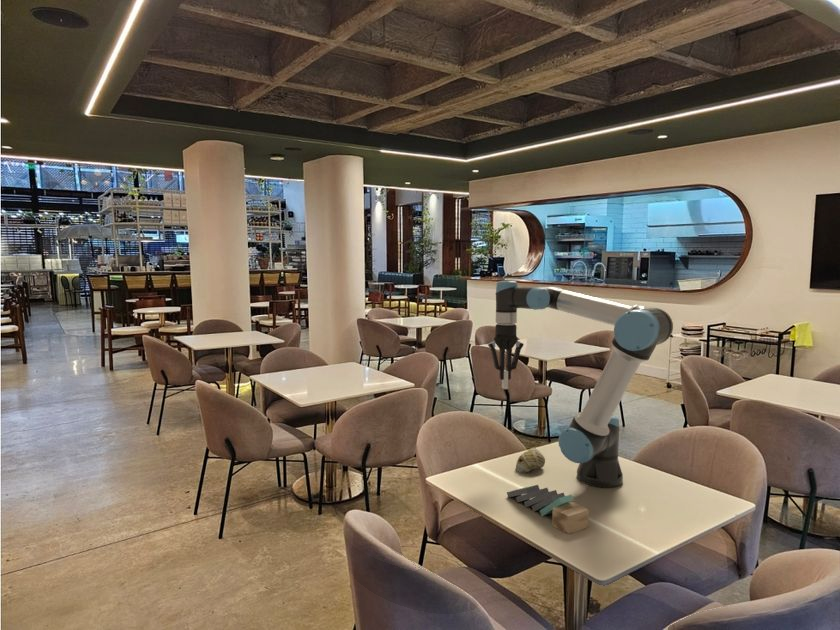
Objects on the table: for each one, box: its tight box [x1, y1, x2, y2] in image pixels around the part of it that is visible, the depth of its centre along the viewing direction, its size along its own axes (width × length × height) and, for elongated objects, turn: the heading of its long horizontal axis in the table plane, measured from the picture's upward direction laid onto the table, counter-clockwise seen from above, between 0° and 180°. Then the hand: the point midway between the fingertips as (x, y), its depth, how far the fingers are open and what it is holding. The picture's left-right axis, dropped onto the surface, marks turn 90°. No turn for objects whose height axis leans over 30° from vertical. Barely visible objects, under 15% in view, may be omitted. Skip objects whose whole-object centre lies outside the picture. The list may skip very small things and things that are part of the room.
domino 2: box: [515, 487, 550, 503], centre depth 164 cm, size 2×5×10 cm
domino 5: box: [539, 494, 575, 517], centre depth 156 cm, size 2×5×10 cm
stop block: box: [551, 501, 590, 535], centre depth 151 cm, size 6×8×5 cm
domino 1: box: [506, 484, 540, 498], centre depth 168 cm, size 2×5×10 cm
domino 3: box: [523, 489, 558, 508], centre depth 161 cm, size 2×5×10 cm
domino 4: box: [531, 492, 566, 512], centre depth 158 cm, size 2×5×10 cm
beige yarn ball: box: [515, 447, 546, 474], centre depth 195 cm, size 10×10×10 cm
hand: (504, 388), depth 194 cm, fingers closed
